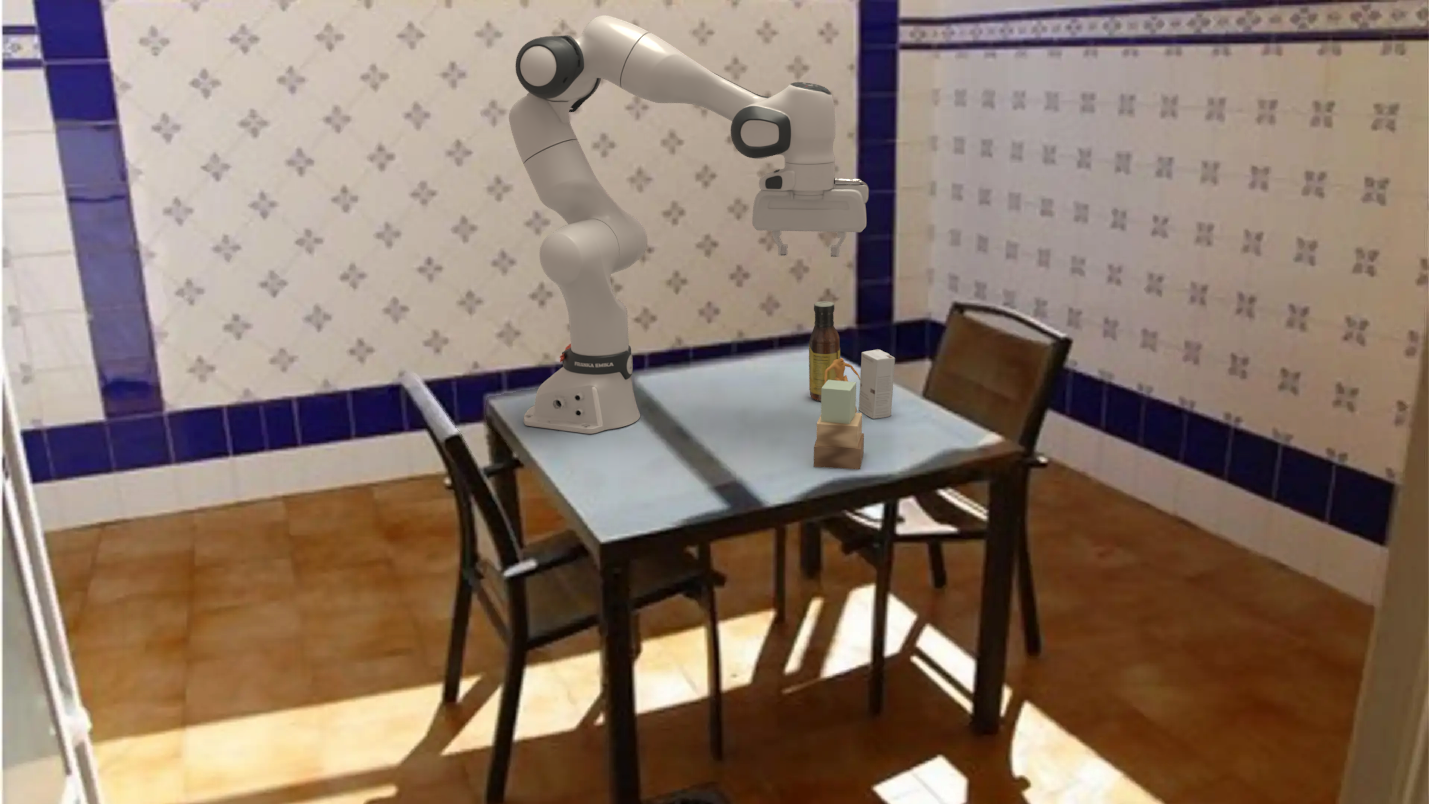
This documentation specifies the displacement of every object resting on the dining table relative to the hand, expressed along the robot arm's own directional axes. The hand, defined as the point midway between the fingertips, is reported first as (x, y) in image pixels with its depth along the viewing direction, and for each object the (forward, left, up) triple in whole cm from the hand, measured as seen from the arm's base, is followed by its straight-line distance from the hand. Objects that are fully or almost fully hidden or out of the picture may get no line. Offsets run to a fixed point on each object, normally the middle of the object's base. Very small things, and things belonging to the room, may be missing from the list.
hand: (809, 255), depth 213 cm
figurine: (+6, +7, -33) cm, 35 cm away
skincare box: (+12, +11, -33) cm, 37 cm away
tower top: (+7, -15, -29) cm, 34 cm away
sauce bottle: (+1, +19, -33) cm, 38 cm away
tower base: (+7, -15, -33) cm, 37 cm away
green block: (+7, -15, -25) cm, 30 cm away
